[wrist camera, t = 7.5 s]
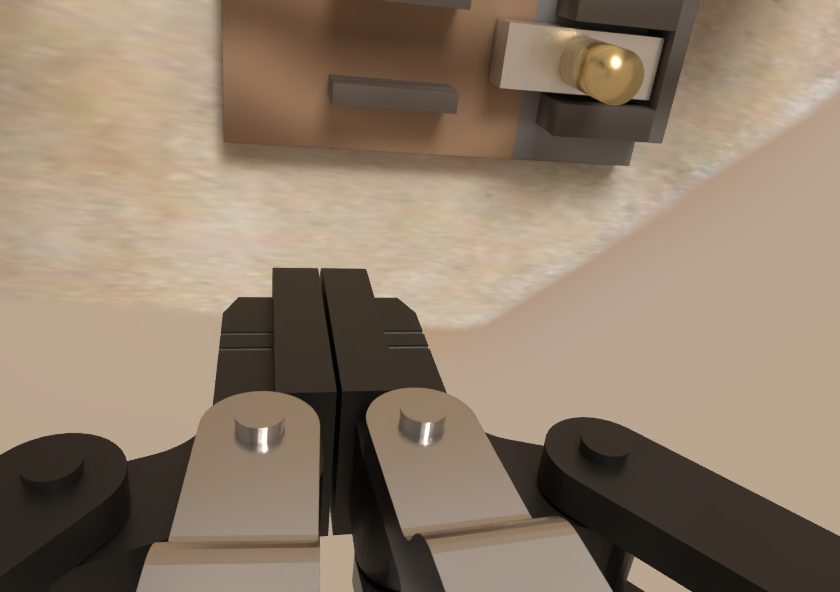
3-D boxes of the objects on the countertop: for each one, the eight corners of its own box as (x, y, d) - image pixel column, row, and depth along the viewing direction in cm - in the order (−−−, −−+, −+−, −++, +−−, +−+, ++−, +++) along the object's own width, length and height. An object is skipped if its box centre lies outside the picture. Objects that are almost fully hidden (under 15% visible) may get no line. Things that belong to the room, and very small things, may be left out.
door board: (222, -112, 31) (217, -117, 28) (667, -51, 36) (712, -50, 33) (225, 134, 36) (220, 157, 33) (617, 158, 41) (651, 180, 37)
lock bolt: (497, 17, 35) (538, 33, 29) (645, 33, 36) (709, 50, 31) (488, 80, 36) (526, 105, 31) (631, 92, 38) (690, 118, 32)
